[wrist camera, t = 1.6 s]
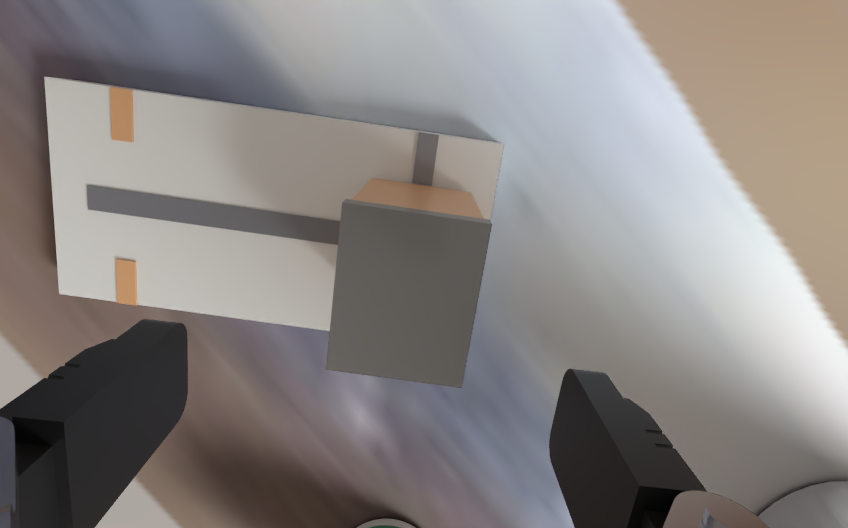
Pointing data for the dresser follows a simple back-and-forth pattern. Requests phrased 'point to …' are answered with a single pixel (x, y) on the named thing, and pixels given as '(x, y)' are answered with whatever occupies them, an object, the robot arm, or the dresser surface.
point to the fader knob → (407, 282)
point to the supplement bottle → (386, 524)
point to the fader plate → (224, 197)
